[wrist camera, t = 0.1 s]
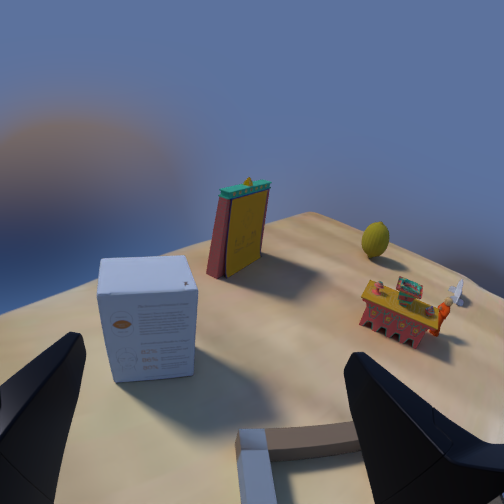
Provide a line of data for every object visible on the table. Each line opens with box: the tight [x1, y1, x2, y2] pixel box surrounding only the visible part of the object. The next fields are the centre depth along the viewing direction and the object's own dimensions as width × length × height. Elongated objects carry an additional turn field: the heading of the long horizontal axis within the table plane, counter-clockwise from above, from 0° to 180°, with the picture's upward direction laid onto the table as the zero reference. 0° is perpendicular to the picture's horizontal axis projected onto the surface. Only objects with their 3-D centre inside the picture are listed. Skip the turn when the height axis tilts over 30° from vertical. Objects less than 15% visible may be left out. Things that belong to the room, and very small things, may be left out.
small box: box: [97, 255, 198, 382], centre depth 26 cm, size 8×6×10 cm
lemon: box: [362, 222, 389, 258], centre depth 59 cm, size 6×6×8 cm
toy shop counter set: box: [206, 177, 453, 349], centre depth 40 cm, size 12×35×14 cm, turn 58°
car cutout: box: [448, 279, 464, 306], centre depth 53 cm, size 15×7×4 cm, turn 147°
